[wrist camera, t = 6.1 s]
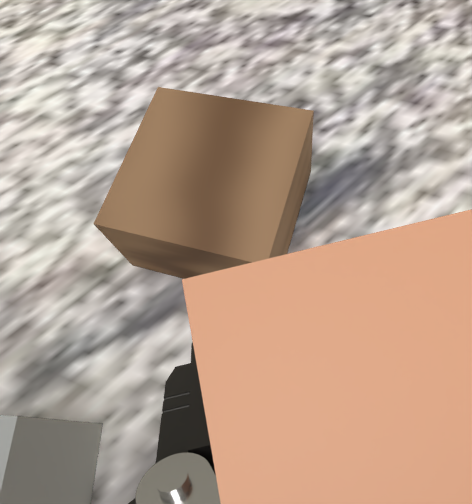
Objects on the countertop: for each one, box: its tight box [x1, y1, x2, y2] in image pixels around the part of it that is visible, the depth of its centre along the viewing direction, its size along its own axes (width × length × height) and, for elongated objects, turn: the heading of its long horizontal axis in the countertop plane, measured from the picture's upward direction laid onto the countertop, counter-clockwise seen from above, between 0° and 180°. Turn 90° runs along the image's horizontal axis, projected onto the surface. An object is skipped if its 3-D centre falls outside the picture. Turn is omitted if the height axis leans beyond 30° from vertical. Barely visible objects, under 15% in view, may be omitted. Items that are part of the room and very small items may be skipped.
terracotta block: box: [182, 210, 472, 504], centre depth 10 cm, size 5×5×9 cm
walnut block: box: [94, 87, 313, 279], centre depth 22 cm, size 8×8×5 cm
